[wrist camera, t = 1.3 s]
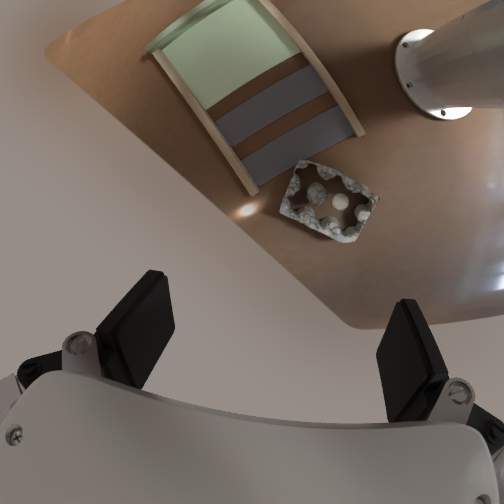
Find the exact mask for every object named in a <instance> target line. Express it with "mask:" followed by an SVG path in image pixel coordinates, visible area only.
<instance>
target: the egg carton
mask: <svg viewBox="0 0 504 504" xmlns="http://www.w3.org/2000/svg"><path fill="white" fill-rule="evenodd" d="M310 163H311V164H314V165H316V166H317V171H318V174H319V175H320V176H321V177H322V178H323V179H324V180H328V179H332V178H334V177H335V176H336V175H339V176H341V178H342V181H343V184H344V185H345V187H346V188H347V190H350V191H351V192H352V193H358V192H360V193H361V194H363V195H364V196H366V197H367V198H369V201H368V203H367V204H360V205H358V206H357V207H356V209H355V216H356V218H357V220H358V223H357V225H356V226H350V227H348V228H347V229H346V230H345V231H342V230H340V227H339V224H338V221H337V220H336V219H335V218H334V217H330V216H328V217H326V218H324V219H323V220H322V221H319V220H317V219H315V214H314V211H313V209H312V208H310V207H308V206H303V207H301V208H299V209H298V211H295V210H292V209H290V201H289V200H288V198H287V197H288V196H293V195H294V194H295V193H296V192H298V191H299V190H300V187H301V186H300V178H299V176H298V175H297V174H295V170H296V169H297V168H306V167H307V166H308V165H309V164H310ZM295 170H294V175H293V177H292V178H291V180H290V183H289V186H288V188H287V191H286V194H285V196H284V197H283V200H282V203H281V207H280V213H281V214H283V215H285V216H287V217H289V218H292V219H295V220H297V221H299V222H300V223H303V224H305V225H306V226H308V227H309V228H312V229H314V230H317V231H319V232H321V233H323V234H325V235H327V236H329V237H331V238H333V239H335V240H337V241H339V242H342V243H348V242H353V241H355V240H356V239H357V237H358V236H359V234H360V232H361V230H362V228H363V227H364V225H365V223H366V220H367V218H368V217H369V215H370V213H371V212H372V211H373V209H374V208H375V206H376V204H377V202H378V201H379V200H380V197H378V196H376V195H375V194H373V193H371V192H370V191H369V190H368V187H367V186H365V185H363V184H362V183H357V182H355V181H354V180H352V179H350V178H348V177H346V176H345V175H343V174H342V173H340V172H338V171H337V170H335V169H332V168H330V167H327V166H324V165H321V164H318V163H315V162H312V161H309V160H306V161H305V160H301V159H299V162H298V164H297V165H296V167H295ZM307 199H308V200H309V202H310V203H311V204H313V205H314V206H316V205H321V204H323V203H324V202H325V201H326V199H327V192H326V191H325V189H324V187H323V185H322V184H320V183H316V182H315V183H311V184H310V185H309V186H308V188H307ZM348 204H349V199H348V197H347V196H346V195H345V194H342V193H338V194H336V195H334V196H333V198H332V205H333V207H334V208H335V209H337V210H344V209H346V208H347V207H348Z"/></svg>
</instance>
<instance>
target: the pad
mask: <svg viewBox="0 0 504 504" xmlns="http://www.w3.org/2000/svg"><path fill="white" fill-rule="evenodd" d="M162 51H163V53H164V54H165V55H166V56H167V58H168V59H169V60H170V62H171V63H172V64H173V66H174V67H175V69H176V70H177V71H178V73H179V74H180V75H181V77H182V78H183V79H184V81H185V82H186V83H187V85H188V86H189V88H190V89H191V90H192V92H193V93H194V95H195V96H196V97H197V99H198V100H199V102H200V103H201V104H202V106H203V107H204V109H205V110H207V109H209V108H210V107H211V106H213V105H214V104H216V103H217V102H218V101H220V100H221V99H223V98H224V97H226V96H227V95H229V94H230V93H232V92H233V91H235V90H236V89H238V88H239V87H241V86H242V85H244V84H245V83H247V82H249V81H250V80H252V79H253V78H255V77H257V76H258V75H260V74H262V73H263V72H265V71H267V70H268V69H270V68H272V67H274V66H275V65H277V64H279V63H281V62H283V61H284V60H286V59H288V58H290V57H292V56H294V55H296V54H298V53H299V52H301V51H300V49H299V48H298V47H297V46H296V44H295V43H294V42H293V41H292V39H291V38H290V37H289V36H288V34H287V33H286V32H285V31H284V30H283V28H282V27H281V26H280V25H279V24H278V23H277V22H276V20H275V19H274V18H273V17H272V16H271V15H270V14H269V13H268V11H267V10H266V9H265V8H264V7H263V6H262V5H261V4H260V3H259V2H258V1H257V0H233V1H231V2H230V3H228V4H226V5H225V6H223V7H221V8H220V9H218V10H216V11H215V12H213V13H212V14H210V15H209V16H207V17H206V18H204V19H203V20H201V21H200V22H198V23H197V24H195V25H194V26H193V27H191V28H190V29H188V30H187V31H186V32H184V33H183V34H182V35H180V36H179V37H178V38H176V39H175V40H174V41H173V42H171V43H170V44H169V45H168V46H166V47H165V48H164V49H163V50H162Z"/></svg>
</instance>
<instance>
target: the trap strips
mask: <svg viewBox="0 0 504 504" xmlns="http://www.w3.org/2000/svg"><path fill="white" fill-rule="evenodd" d="M328 91H329V90H328V88H327V87H326V86H325V84H324V83H323V81H322V80H321V78H320V77H319V75H318V74H317V72H316V71H315V70H314V68H313V67H312V65H311V64H310V65H308V66H306V67H304V68H302V69H300V70H298V71H296V72H295V73H293V74H291V75H289V76H287V77H285V78H284V79H282V80H280V81H278V82H277V83H275V84H273V85H272V86H270V87H268V88H266V89H265V90H263V91H261V92H260V93H258V94H257V95H255V96H253V97H252V98H250V99H249V100H247V101H245V102H244V103H242V104H241V105H239V106H238V107H236V108H235V109H233V110H232V111H230V112H229V113H227V114H226V115H224V116H223V117H221V118H220V119H219V120H217V121H216V122H214V123H215V124H216V126H217V127H218V129H219V130H220V132H221V133H222V135H223V136H224V137H225V139H226V140H227V142H228V143H229V145H230V146H231V148H232V147H234V146H235V145H237V144H238V143H240V142H241V141H243V140H245V139H246V138H248V137H249V136H251V135H252V134H254V133H256V132H257V131H259V130H260V129H262V128H264V127H265V126H267V125H269V124H270V123H272V122H274V121H275V120H277V119H279V118H280V117H282V116H284V115H286V114H287V113H289V112H291V111H293V110H294V109H296V108H298V107H300V106H302V105H303V104H305V103H307V102H309V101H311V100H313V99H315V98H316V97H318V96H320V95H322V94H324V93H326V92H328ZM353 134H355V133H354V131H353V129H352V127H351V126H350V124H349V122H348V120H347V119H346V117H345V115H344V114H343V112H342V110H341V109H340V107H339V106H338V105H337V106H335V107H333V108H331V109H329V110H327V111H325V112H323V113H322V114H320V115H318V116H316V117H314V118H312V119H310V120H309V121H307V122H305V123H303V124H301V125H300V126H298V127H296V128H294V129H292V130H291V131H289V132H287V133H285V134H284V135H282V136H280V137H279V138H277V139H275V140H274V141H272V142H270V143H269V144H267V145H265V146H264V147H262V148H260V149H259V150H257V151H255V152H254V153H252V154H251V155H249V156H247V157H246V158H244V159H243V160H241V163H242V164H243V166H244V167H245V169H246V170H247V172H248V173H249V175H250V176H251V178H252V179H253V181H254V183H255V184H256V186H257V187H259V186H261V185H262V184H264V183H266V182H268V181H269V180H271V179H273V178H274V177H276V176H278V175H280V174H281V173H283V172H285V171H287V170H288V169H290V168H292V167H294V166H296V165H297V164H298V162H299V159H301V160H306V159H308V158H310V157H312V156H314V155H315V154H317V153H319V152H321V151H323V150H325V149H327V148H328V147H330V146H332V145H334V144H336V143H338V142H340V141H342V140H344V139H345V138H347V137H349V136H351V135H353Z"/></svg>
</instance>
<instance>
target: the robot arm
mask: <svg viewBox="0 0 504 504" xmlns="http://www.w3.org/2000/svg"><path fill="white" fill-rule="evenodd" d="M403 46H405V48H404V47H403ZM394 65H395V70H396V74H397V77H398V80H399V82H400V84H401V86H402V88H403V90H404V92H405V93H406V94H407V96H408V97H409V99H410V100H411V101H412V102H413V103H414V104H415V105H416V106H417V107H418V108H420V109H421V110H422V111H423V112H425V113H427V114H429V115H430V116H433V117H435V118H438V119H444V120H454V119H459V118H461V117H463V116H465V115H466V114H468V113H469V112H470V110H471V109H472V108H496V109H504V0H489V1H487V2H485V3H483V4H481V5H479V6H477V7H475V8H474V9H472V10H470V11H468V12H466V13H464V14H463V15H461V16H459V17H457V18H456V19H454V20H452V21H450V22H449V23H447V24H445V25H444V26H442V27H440V28H439V29H437V30H435V31H434V30H430V29H417V30H413V31H411V32H409V33H407V34H406V35H405V36H403V37H402V39H401V40H400V41H399V42H398V44H397V47H396V49H395V54H394ZM406 84H408V85H409V88H408V87H407V85H406ZM440 112H441V113H440ZM174 329H175V324H174V317H173V312H172V305H171V299H170V292H169V285H168V278H167V276H165V275H164V273H163V272H162V271H155V270H149V271H147V272H146V274H145V275H144V276H143V277H142V278H141V279H140V280H139V281H138V282H137V283H136V284H135V285H134V286H133V288H132V289H131V290H130V291H129V292H128V293H127V294H126V295H125V296H124V298H123V299H122V300H121V301H120V302H119V303H118V304H117V305H116V306H115V308H114V309H113V310H112V311H111V312H110V313H109V314H108V316H107V317H106V318H105V319H104V320H103V321H102V323H101V324H100V325H99V326H98V327H97V328H96V332H95V334H94V335H93V334H92V333H89V332H87V331H79V332H75V333H73V334H71V335H69V336H68V337H67V338H66V339H65V341H64V342H63V345H62V350H61V351H57V352H53V353H50V354H46V355H42V356H38V357H34V358H31V359H28V360H26V361H25V362H23V363H22V364H21V365H20V367H19V369H18V371H17V375H16V376H15V374H14V373H13V374H11V375H9V376H8V377H5V378H4V379H2V380H0V504H504V423H503V422H502V421H500V420H499V419H497V418H496V417H494V416H493V415H491V414H490V413H488V412H487V411H485V410H484V409H482V408H481V407H479V406H478V405H476V404H475V403H474V401H475V392H474V390H473V388H472V386H471V385H470V384H469V383H468V382H467V381H466V380H463V379H461V378H451V379H449V376H448V370H447V368H446V365H445V363H444V360H443V358H442V355H441V353H440V351H439V348H438V346H437V344H436V342H435V339H434V337H433V335H432V333H431V330H430V328H429V326H428V324H427V322H426V320H425V318H424V316H423V314H422V312H421V310H420V308H419V306H418V304H417V302H416V300H414V299H401V301H400V302H397V303H396V305H395V308H394V310H393V313H392V315H391V318H390V321H389V323H388V326H387V328H386V330H385V333H384V335H383V338H382V340H381V342H380V345H379V347H378V349H377V353H376V358H377V363H378V368H379V373H380V378H381V383H382V388H383V394H384V400H385V406H386V411H387V419H388V422H389V423H369V424H368V423H367V424H336V423H314V422H313V423H312V422H300V421H288V420H279V419H271V418H263V417H256V416H248V415H243V414H237V413H231V412H225V411H221V410H216V409H211V408H206V407H202V406H197V405H193V404H189V403H185V402H181V401H177V400H174V399H170V398H166V397H163V396H159V395H156V394H153V393H149V392H146V391H143V390H140V389H142V388H143V386H144V384H145V382H146V380H147V379H148V377H149V375H150V373H151V372H152V370H153V368H154V366H155V364H156V363H157V361H158V359H159V357H160V356H161V354H162V352H163V350H164V348H165V347H166V345H167V343H168V342H169V340H170V338H171V336H172V335H173V333H174Z"/></svg>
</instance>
